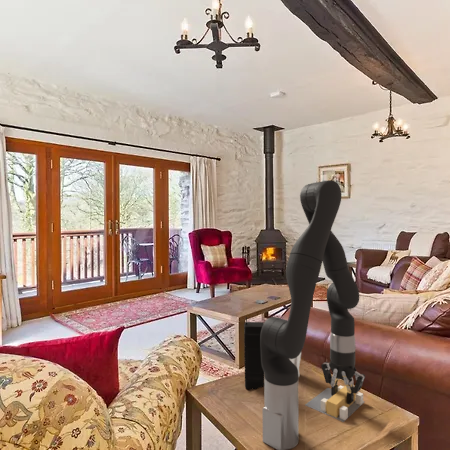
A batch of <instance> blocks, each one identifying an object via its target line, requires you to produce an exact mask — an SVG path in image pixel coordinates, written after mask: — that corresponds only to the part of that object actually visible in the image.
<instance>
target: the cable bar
mask: <svg viewBox="0 0 450 450" xmlns="http://www.w3.org/2000/svg"><path fill="white" fill-rule="evenodd" d="M343 386H344V387H343V388H342V389H341V390H339V391H338V392H337V393H336V394H334V395H333V396H332V397H331V398H329V399H328V400H327V414H329V415H331V416H333V417H336V418H337V417H338V416H339V415H340V408H341V407H342V406H345V407H347V408H348V407H349V406H350V405H351V404H352V403H353V402H354V401H355V398H356V394H355V393H354V401H353V402H352V403H351V404H350V405H349V404H347V392H348V391H347V387H346V385H343ZM331 416H330V417H331ZM333 417H332V418H333Z"/></svg>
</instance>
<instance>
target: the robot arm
mask: <svg viewBox="0 0 450 450" xmlns="http://www.w3.org/2000/svg"><path fill="white" fill-rule="evenodd" d="M299 199H300V201H299V202H300V205H301V208H302V210H303V213H304V215H305V217H306V219H307V222H308V225H307V227H306V229H305V230H304V231H303V232H302V234H301V235H300V236H299V237H298V238H297V240H296V241H295V243H294V245H293V246H292V248H291V250H290V252H289V257H288V260H287V263H286V266H285V267H286V268H285V277H286V282H287V286H288V291H289V295H290V300H291V302H290V310H289V315H288V319H283V318H280V317H275V316H271V317H268V318H267V319H266V320H264V324H263V326H262V329H261V335H260V347H261V364H262V368H263V371H264V387H263V389H264V390H263V391H264V393H263V394H264V395H263V396H264V398H263V400H264V406H263V407H262V442H263V443H264V444H266V445H268V446H269V447H271V448H273V449H276V450H291V449H294V448H295V447H297V445H298V444H299V377H298V369H297V367H296V366H295V365H294V364H293V363H292V362H291V361H290V359H294V358H296V357H297V356H299V354H300V353H301V354H302V350H303V349H304V346H305V342H306V338H307V332H308V326H309V319H310V314H311V308H312V303H313V299H314V294H315V291H316V286H317V283H318V279H319V276H320V273H321V268H322V265H323V268H324V272H325V275H326V277H327V278H328V279H330V281H332V283H330V284H329V286H328V288H327V290H326V303H327V307H328V312H329V316H330V336H329V362H328V361H325V362H323V363H321V365H320V366H321V370H322V372H323V373H322V374H323V377H324V381H325V383H327V384H328V385H330V386H331V388H330V389H331V395H332V396H333V395H334V394H336V393H337V392H338V387H339V385H338V383H339V380H342V381H343V382H344V386H346V387H347V391H348V392H347V404H349V405H350V404H351V403H352V402H353V401H354V393H355V395H356V394H357V393H358V392H360V391H361V389H362V387H363V383H364V380H365V378H366V374H364V373H360V372H358V371H357V368H356V366H355V365H356V348H357V347H356V336H355V335H356V334H355V326H356V324H355V317H354V316H353V315H352V313H350V312H349V310H352V309H354V308H356V307H357V306H358V305H359V302H360V290H359V287H358V286H357V283H356V281H355V279H354V277H353V275H352V273H351V271H350V270H349V265H348V261H347V257H346V251H345V250H344V247H343V245H342V244H341V242H340V240H339V239H338V238H337V236H336V235H335V234H334V232H333V231H332V229H333V225H334V222H335V220H336V218H337V215H338V213H339V209H340V205H341V202H342V188H341V187H340V185H339V183H338V182H336V181H335V180H322V181H318V182H312V183H308V184H306V185H304V186H303V187H302V189H301V190H300V194H299ZM354 376H355V384H354V378H353V377H354Z"/></svg>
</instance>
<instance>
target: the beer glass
mask: <svg viewBox="0 0 450 450" xmlns="http://www.w3.org/2000/svg"><path fill="white" fill-rule="evenodd" d="M301 358H302V352H301V353H300V354H299V356H297V357H296V358H294V359H290V361H291V362H292V363H293V364H294V365H295V366H296V367H297V369H298V378H300V377H301V376H300V364H301Z"/></svg>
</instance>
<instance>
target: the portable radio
mask: <svg viewBox="0 0 450 450" xmlns="http://www.w3.org/2000/svg"><path fill="white" fill-rule="evenodd" d="M247 320H248V317H246V316H245V322H244V325H243V327H244V329H243V331H244V332H243V333H244V336H243V337H244V338H243V339H244V341H243V342H244V387H245V389H246V390H257V389H259V388H264V371H263V368H262V364H261V347H260V335H261V329H262V326H263V324H264V322H265V321H264V322H263V321H258V322H257V321H247Z"/></svg>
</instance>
